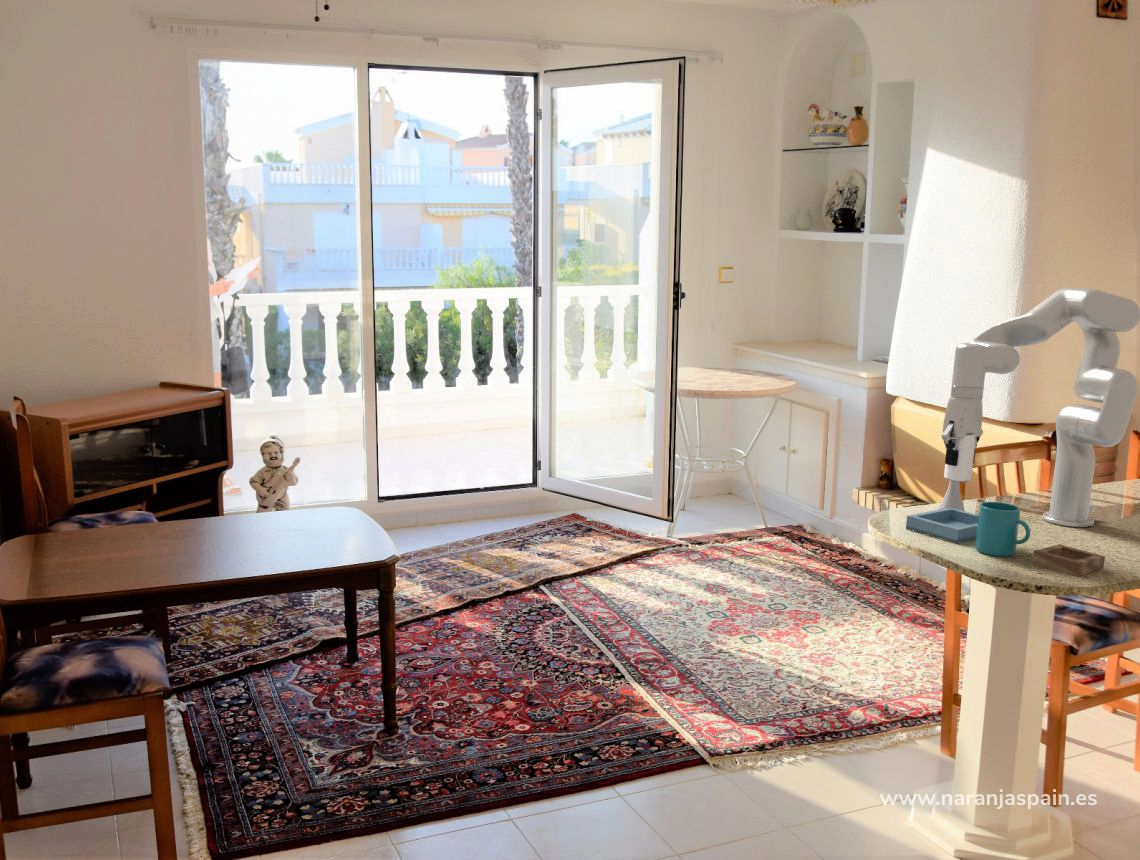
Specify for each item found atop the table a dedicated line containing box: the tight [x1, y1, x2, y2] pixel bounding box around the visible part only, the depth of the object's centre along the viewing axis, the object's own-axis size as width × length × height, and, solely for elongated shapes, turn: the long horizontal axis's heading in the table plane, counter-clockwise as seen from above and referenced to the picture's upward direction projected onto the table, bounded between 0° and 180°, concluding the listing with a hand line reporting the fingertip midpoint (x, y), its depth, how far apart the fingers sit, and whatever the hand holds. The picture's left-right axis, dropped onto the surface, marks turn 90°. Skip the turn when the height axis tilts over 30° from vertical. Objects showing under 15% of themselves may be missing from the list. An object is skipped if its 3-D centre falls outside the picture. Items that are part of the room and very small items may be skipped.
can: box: [943, 434, 976, 483], centre depth 270 cm, size 6×6×12 cm
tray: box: [905, 508, 979, 544], centre depth 273 cm, size 18×15×4 cm
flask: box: [937, 480, 966, 512], centre depth 293 cm, size 7×7×10 cm
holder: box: [1031, 543, 1106, 577], centre depth 247 cm, size 11×11×3 cm
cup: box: [974, 501, 1032, 558], centre depth 255 cm, size 9×12×11 cm
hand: (959, 463), depth 270 cm, fingers closed on can, 6 cm apart
